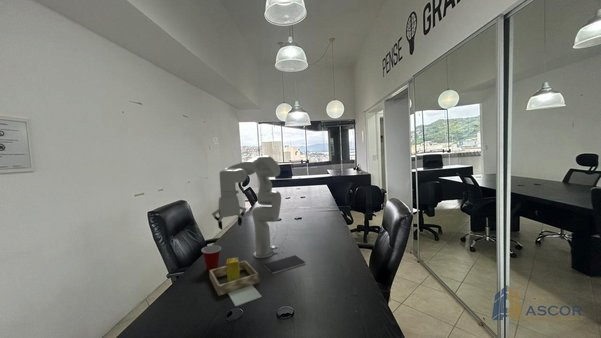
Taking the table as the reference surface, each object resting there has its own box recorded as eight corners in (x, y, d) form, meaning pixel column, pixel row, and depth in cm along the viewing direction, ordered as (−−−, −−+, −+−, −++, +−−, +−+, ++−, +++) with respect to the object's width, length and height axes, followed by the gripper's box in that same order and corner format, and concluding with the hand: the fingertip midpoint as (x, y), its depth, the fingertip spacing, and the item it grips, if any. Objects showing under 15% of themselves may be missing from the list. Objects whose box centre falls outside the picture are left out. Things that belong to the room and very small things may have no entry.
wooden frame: (246, 268, 140) (245, 260, 140) (259, 282, 123) (258, 273, 123) (209, 278, 130) (209, 270, 130) (218, 295, 113) (218, 286, 113)
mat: (252, 285, 120) (252, 285, 120) (261, 297, 110) (261, 296, 110) (228, 293, 114) (228, 293, 114) (235, 306, 104) (235, 305, 104)
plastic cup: (216, 273, 136) (214, 252, 135) (198, 272, 138) (197, 251, 137) (225, 264, 146) (224, 245, 146) (209, 263, 149) (208, 244, 148)
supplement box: (228, 278, 129) (227, 258, 128) (239, 276, 130) (238, 257, 130) (227, 284, 123) (226, 263, 123) (239, 282, 124) (238, 261, 124)
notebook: (295, 257, 153) (263, 266, 143) (295, 255, 153) (263, 264, 142) (305, 264, 142) (272, 275, 132) (305, 262, 142) (272, 272, 132)
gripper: (242, 191, 132) (244, 222, 133) (209, 195, 123) (211, 228, 124) (247, 192, 126) (249, 225, 127) (212, 197, 117) (214, 232, 118)
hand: (230, 226), depth 125 cm, fingers open, 9 cm apart
